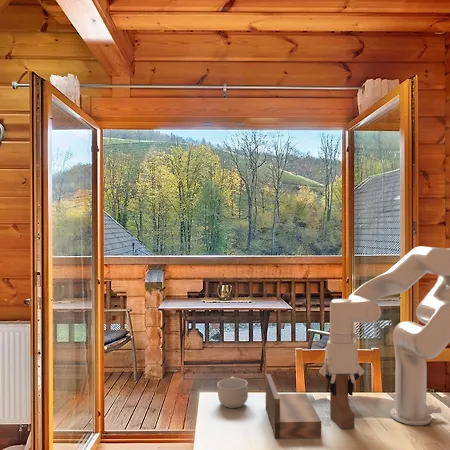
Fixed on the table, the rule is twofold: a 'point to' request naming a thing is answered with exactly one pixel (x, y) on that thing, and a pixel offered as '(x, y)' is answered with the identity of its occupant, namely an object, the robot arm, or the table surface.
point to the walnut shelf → (291, 414)
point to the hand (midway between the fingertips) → (341, 393)
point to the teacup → (232, 392)
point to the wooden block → (341, 404)
